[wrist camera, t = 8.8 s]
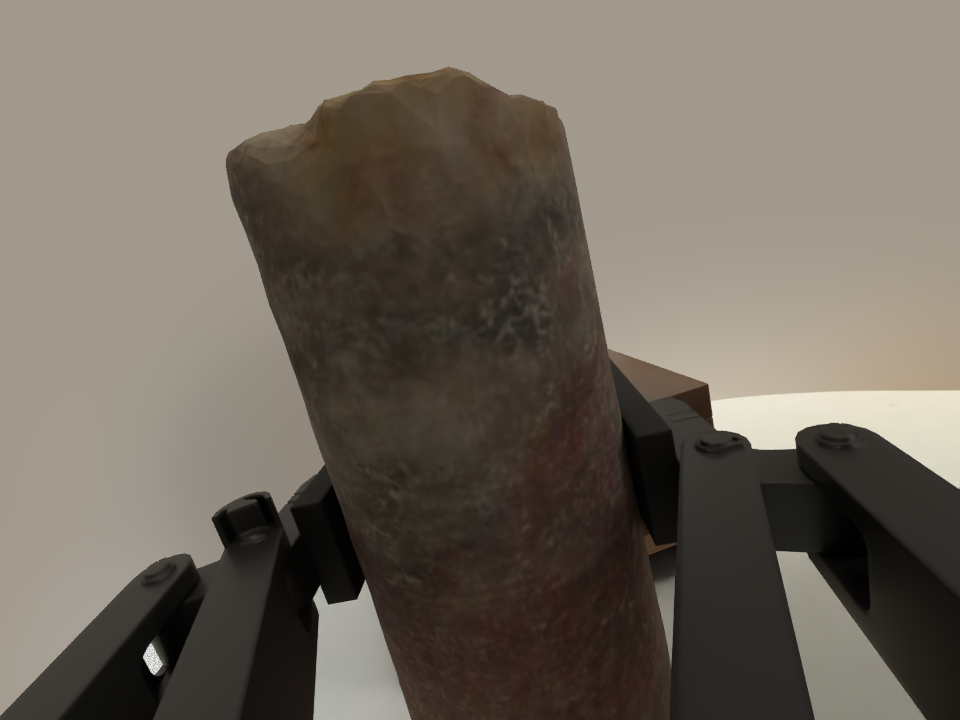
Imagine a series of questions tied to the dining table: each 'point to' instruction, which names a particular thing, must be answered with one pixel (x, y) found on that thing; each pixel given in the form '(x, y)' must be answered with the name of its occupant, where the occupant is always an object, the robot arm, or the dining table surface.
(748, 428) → the dining table surface
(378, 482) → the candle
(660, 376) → the shelf
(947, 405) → the dining table surface
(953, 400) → the dining table surface
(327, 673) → the dining table surface
